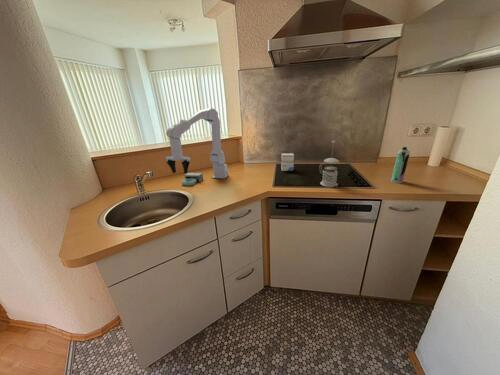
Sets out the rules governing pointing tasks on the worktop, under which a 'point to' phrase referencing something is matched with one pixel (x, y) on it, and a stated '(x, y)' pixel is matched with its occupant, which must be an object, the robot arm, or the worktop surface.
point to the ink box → (287, 162)
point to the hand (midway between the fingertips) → (180, 172)
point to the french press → (331, 179)
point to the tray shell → (189, 182)
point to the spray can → (400, 165)
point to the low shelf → (194, 176)
